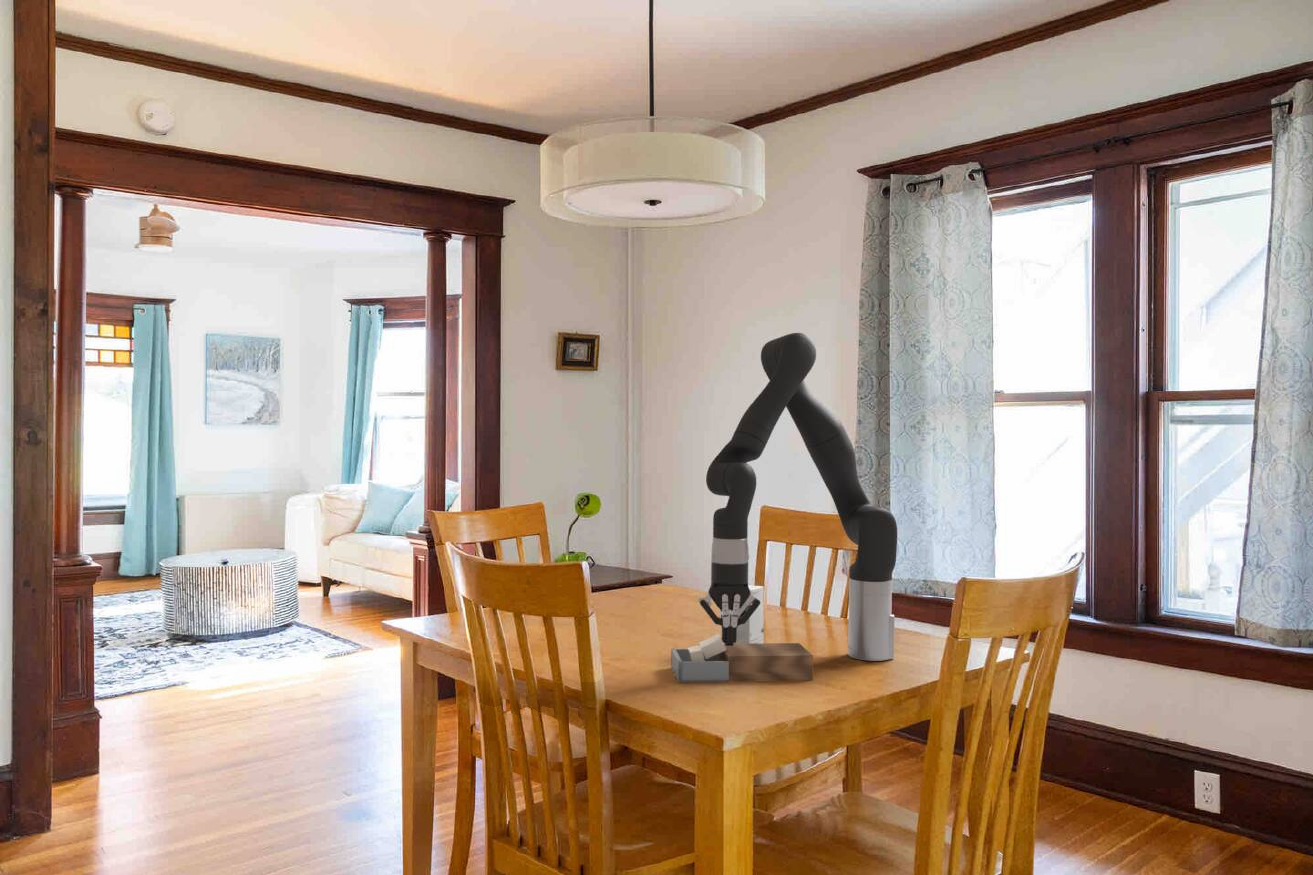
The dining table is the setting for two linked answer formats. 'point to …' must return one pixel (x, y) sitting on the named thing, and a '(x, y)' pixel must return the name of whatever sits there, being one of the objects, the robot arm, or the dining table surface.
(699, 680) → the tray
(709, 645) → the tile
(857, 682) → the dining table surface
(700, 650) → the tile
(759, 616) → the skincare box
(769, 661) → the brown wooden block
